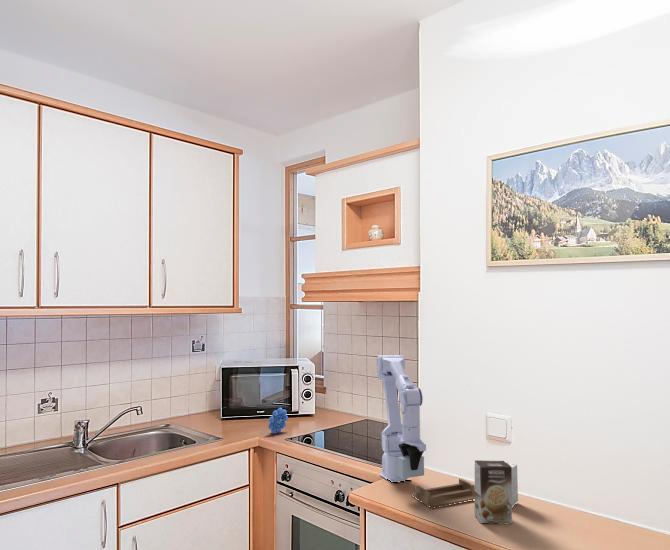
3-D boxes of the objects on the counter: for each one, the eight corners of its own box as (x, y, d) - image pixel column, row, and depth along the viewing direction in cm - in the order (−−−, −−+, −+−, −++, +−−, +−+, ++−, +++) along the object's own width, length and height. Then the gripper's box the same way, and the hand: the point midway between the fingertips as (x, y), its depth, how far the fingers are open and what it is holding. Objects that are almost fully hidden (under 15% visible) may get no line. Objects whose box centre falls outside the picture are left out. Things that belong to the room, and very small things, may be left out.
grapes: (281, 429, 253) (281, 405, 254) (290, 432, 248) (290, 407, 249) (262, 433, 245) (263, 408, 245) (271, 436, 240) (272, 410, 240)
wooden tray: (412, 496, 166) (412, 483, 166) (457, 488, 173) (457, 476, 173) (431, 509, 155) (431, 495, 156) (478, 500, 163) (478, 487, 163)
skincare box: (505, 500, 163) (504, 461, 164) (518, 503, 160) (517, 464, 161) (497, 505, 158) (497, 466, 159) (511, 509, 155) (510, 469, 156)
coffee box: (480, 524, 145) (480, 467, 145) (474, 515, 151) (473, 460, 152) (512, 524, 145) (512, 466, 146) (504, 515, 151) (503, 459, 152)
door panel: (398, 475, 166) (397, 455, 166) (419, 472, 169) (418, 452, 169) (402, 478, 163) (402, 457, 164) (424, 475, 166) (423, 455, 167)
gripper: (389, 422, 172) (389, 463, 171) (412, 431, 159) (412, 476, 158) (407, 420, 175) (407, 460, 174) (431, 429, 162) (432, 473, 161)
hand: (411, 468), depth 166 cm, fingers closed on door panel, 3 cm apart
